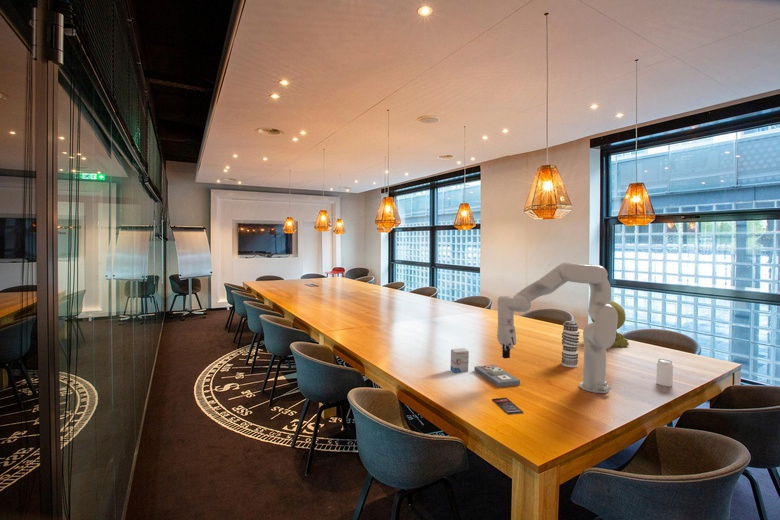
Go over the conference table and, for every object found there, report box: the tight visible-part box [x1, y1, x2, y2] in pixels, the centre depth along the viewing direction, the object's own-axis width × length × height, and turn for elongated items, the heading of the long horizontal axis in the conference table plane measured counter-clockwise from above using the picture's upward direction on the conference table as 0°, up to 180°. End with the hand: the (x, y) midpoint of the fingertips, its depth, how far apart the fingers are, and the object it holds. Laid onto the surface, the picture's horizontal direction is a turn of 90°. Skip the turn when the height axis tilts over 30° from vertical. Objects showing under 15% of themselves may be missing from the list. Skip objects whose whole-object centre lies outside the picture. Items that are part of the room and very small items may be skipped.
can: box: [655, 358, 674, 388], centre depth 187 cm, size 6×6×12 cm
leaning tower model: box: [561, 320, 580, 368], centre depth 216 cm, size 9×9×25 cm
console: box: [474, 364, 521, 388], centre depth 195 cm, size 24×12×2 cm, turn 16°
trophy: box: [590, 300, 630, 348], centre depth 263 cm, size 22×22×30 cm
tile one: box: [497, 375, 512, 381], centre depth 188 cm, size 5×5×3 cm
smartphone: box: [491, 397, 524, 416], centre depth 162 cm, size 7×1×15 cm
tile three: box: [481, 365, 494, 371], centre depth 203 cm, size 5×5×3 cm
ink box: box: [450, 347, 470, 374], centre depth 205 cm, size 8×5×12 cm, turn 105°
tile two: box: [489, 366, 504, 376], centre depth 195 cm, size 5×5×3 cm
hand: (506, 357), depth 188 cm, fingers closed
